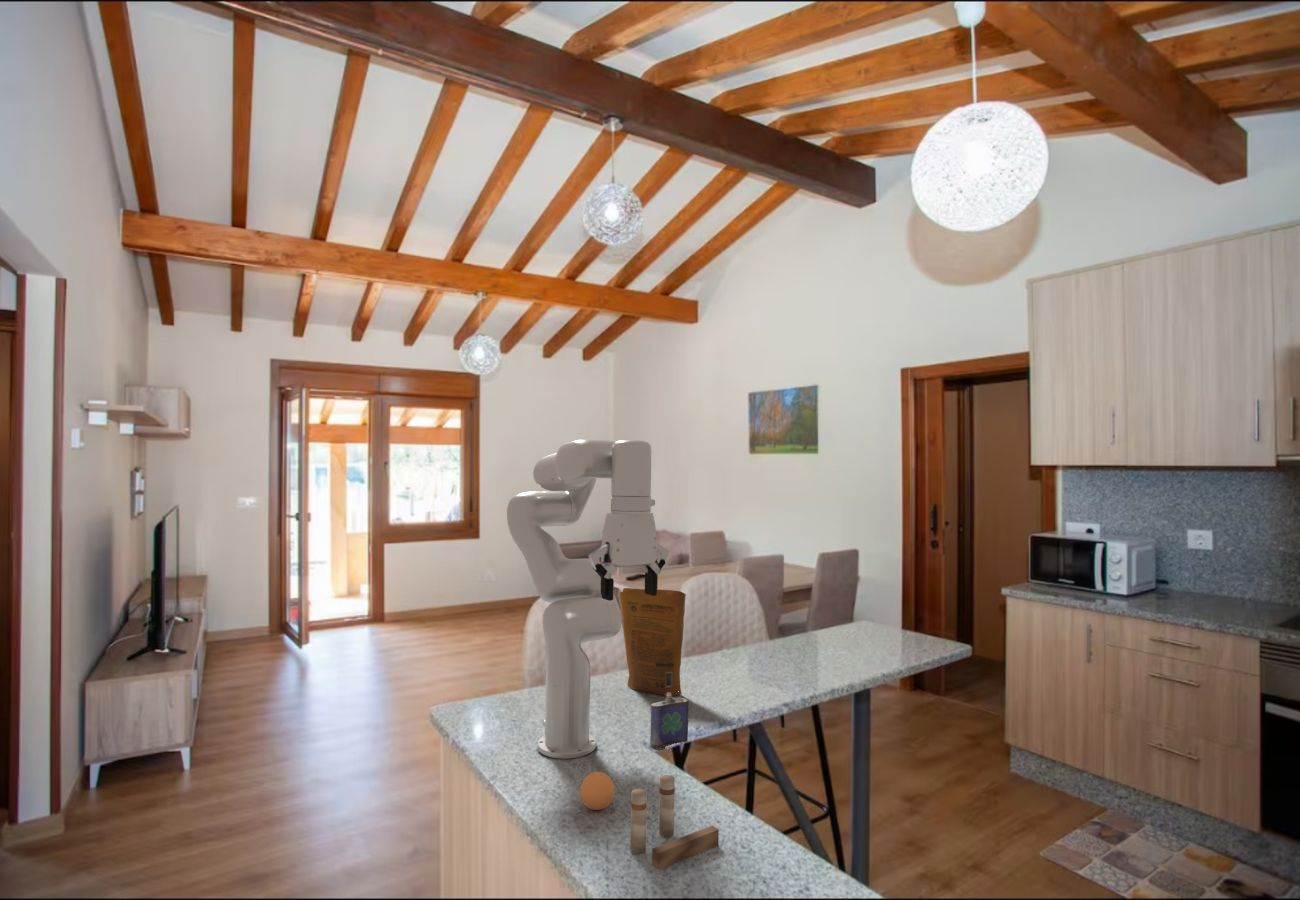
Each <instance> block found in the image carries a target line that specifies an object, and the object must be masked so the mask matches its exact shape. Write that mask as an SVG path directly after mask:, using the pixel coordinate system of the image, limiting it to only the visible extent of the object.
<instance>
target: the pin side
mask: <svg viewBox="0 0 1300 900" xmlns="http://www.w3.org/2000/svg"><path fill="white" fill-rule="evenodd" d="M647 792H648V791H647V790H646V789H643V788H635V789H633V790H631V796H630V797H631V799H630V847H629V848H630V853H631V854H633V855H635V856H641V855H644V854H645V853H646V850H647V847H646V846H647V808H648V802H647V799H648V798H647V795H648V793H647Z"/></svg>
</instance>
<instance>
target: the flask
mask: <svg viewBox="0 0 1300 900" xmlns="http://www.w3.org/2000/svg"><path fill="white" fill-rule="evenodd" d="M666 694H667V696H665V700H662V701H658V702H657V701H656V702H653V703H651V704H650V738H649V745H650V747H652V748H661V747H667V746H671V745H674V744H675V745H677V744H681V743H687V742H688V738H689V735H688V734H689V709H690V708H689V706H690V705H689V704H690V701H689V700H688V699H686V698H684V697H683V698H681V697H674V696H671V694H672V693H670V692H669V693H666ZM666 694H665V695H666Z"/></svg>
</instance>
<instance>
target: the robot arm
mask: <svg viewBox="0 0 1300 900" xmlns="http://www.w3.org/2000/svg"><path fill="white" fill-rule="evenodd" d="M532 475H533V480H534V482H535V484H536V485H538V486H539V487H540V488H541V489H543V490H542V491H541V490H540V491H539V490H538V491H525V492H521V493H518V494H515V495H514V496H512V497H511V498H510V499H509V501H508V503H507V508H506V520H507V527H508V529H509V533H510V535H511V537H512V540H513V541H514V543H515V544H516V546H517V547H518V549H519V551H520V552H521V554H522V556H523V557H524V560H525V562H526V566H527V567H528V570H529V572H530V576H531V579H532V580H533V584H534V587H535V589H536V592H537V593H538V596H539V597H540V599H541V600H542V601H544V602H546V603H550V604H548V605H547V607H546V608H545V609H544V611H543V614H542V629H543V636H544V642H545V658H546V661H545V663H546V665H545V666H546V667H545V706H544V707H545V708H544V709H545V710H544V712H545V713H544V714H545V715H544V717H545V718H544V720H543V721H542V723H541V725H542V726H543V727H544V735H543V736H542V737H540V738H539V739H538V741H537V743H536V745H537V746H536V748H537V750H538V752H539V753H540V754H542V755H544V756H546V757H549V758H554V759H562V760H563V759H564V760H565V759H574V758H575V759H576V758H581V757H584V756H587V755H589V754H591V753H592V752H593V751H594V750H596V747H597V739H596V737H595V736H593V735H592V734H591V733H590V721H591V720H590V717H591V716H590V712H591V711H590V709H591V662H590V659H589V657H588V655H587V654H586V652H585V651H584V649H583V648H582V644H584V643H587V642H593V641H601V640H607V639H611V638H613V637H615V636H616V635H617V634H618V633H619V632H620V630H621V628H622V616H621V608H620V604H619V603H618V600H617V598H616V596H615V594H614V592H615V591H614V589H615V588H614V585H615V584H614V583H615V581H614V578H612V575H614V573H615V572H616V570H618V569H617V568H632V567H644V568H645V570H646V571H647V572H645V574H644V589H645V593H646V594H649V595H652V596H656V595H657V589H658V580H659V579H658V575H660V574H661V570H662V568H664V566H665V565H666V560H667V558H668V556H669V554H670V551H669V549H667V548H666V547H664V546H662V545H661V544H659V543H658V541H657V530H656V528H657V527H656V523H655V517H654V513H653V512H652V511H651V510H652V507H655V505H656V500H655V499H652V494H651V493H652V446H651V444H650V443H649V442H648V441H646V440H640V439H639V440H636V439H632V440H631V439H624V440H623V439H622V440H602V439H578V440H573V441H570V442H565V443H564V444H561V445H560V447H559V448H558V450H557V451H556V452H555V453H552V454H549V455H546V456H544V457H542V458H540V459H539V460H538V461H537V462H536V464H535V465H534V467H533V472H532ZM597 479H610V481H611V483H610V512H607V513H606V515H605V519H604V524H603V529H602V530H603V531H602V539H601V546H600V547H598V548H596V549H595V550H593V551H592V552H589V554H588V558H568V557H566V556H565V554H564V553H563V551H562V548H561V546H560V544H559V542H558V541H557V540H556V539H555V538H554V537H553V536H552V535H551V533H549V532H547V531H546V530H544V529H543V528H542V527H565V526H566V527H567V526H572V525H574V524H575V523H577V522H578V521H579V520H580V518H581V516H582V514H583V512H584V510H585V507H586V505H587V503H588V501H589V499H590V496H591V495H592V492H593V491H594V488H595V485H596V482H597ZM544 490H545V491H544ZM657 553H658V554H657ZM601 563H602V564H603V565H602V564H601Z"/></svg>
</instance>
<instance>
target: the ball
mask: <svg viewBox="0 0 1300 900" xmlns="http://www.w3.org/2000/svg"><path fill="white" fill-rule="evenodd" d="M614 796H615V785H614V781H613V780H612V778H611V777H610V776H609V775H608V774H607V773H605V772H601V771H595V772H592V773H589V774H588V775H587V776H586V777H585V778H584V780H583V781H582V783H581V786H580V798H581V800H582V802H583V803H584V805H585V806H586V807H587V808H589V809H591V810H594V811H599V810H600V811H601V810H603V809H605V808H607V807H608V806H609V805H611V803H612V801H613V799H614Z"/></svg>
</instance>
